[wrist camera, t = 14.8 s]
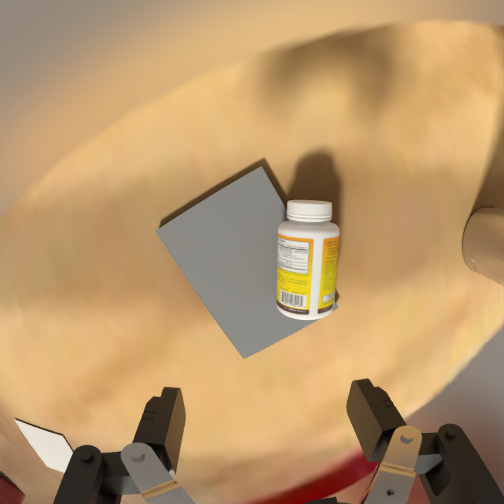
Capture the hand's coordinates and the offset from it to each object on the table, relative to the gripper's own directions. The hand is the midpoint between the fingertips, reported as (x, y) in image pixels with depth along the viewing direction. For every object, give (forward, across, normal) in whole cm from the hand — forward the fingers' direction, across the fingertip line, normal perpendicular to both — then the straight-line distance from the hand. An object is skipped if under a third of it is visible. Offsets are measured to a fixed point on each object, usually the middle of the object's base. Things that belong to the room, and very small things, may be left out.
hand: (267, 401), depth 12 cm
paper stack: (+19, +46, +36) cm, 61 cm away
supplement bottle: (+15, -5, +2) cm, 16 cm away
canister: (+18, +91, +87) cm, 127 cm away
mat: (+19, 0, -1) cm, 19 cm away
